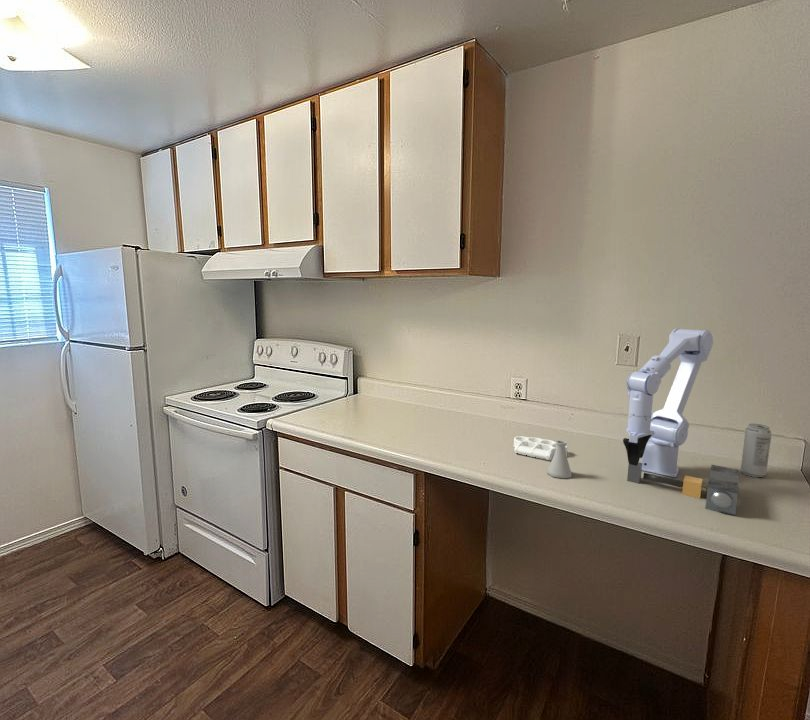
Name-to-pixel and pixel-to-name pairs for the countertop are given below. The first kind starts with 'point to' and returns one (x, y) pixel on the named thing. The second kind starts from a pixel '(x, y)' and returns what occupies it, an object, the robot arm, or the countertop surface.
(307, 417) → the countertop surface
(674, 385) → the robot arm
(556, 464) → the flask
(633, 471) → the bar with block ends
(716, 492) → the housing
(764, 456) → the energy drink can
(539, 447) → the white egg tray
